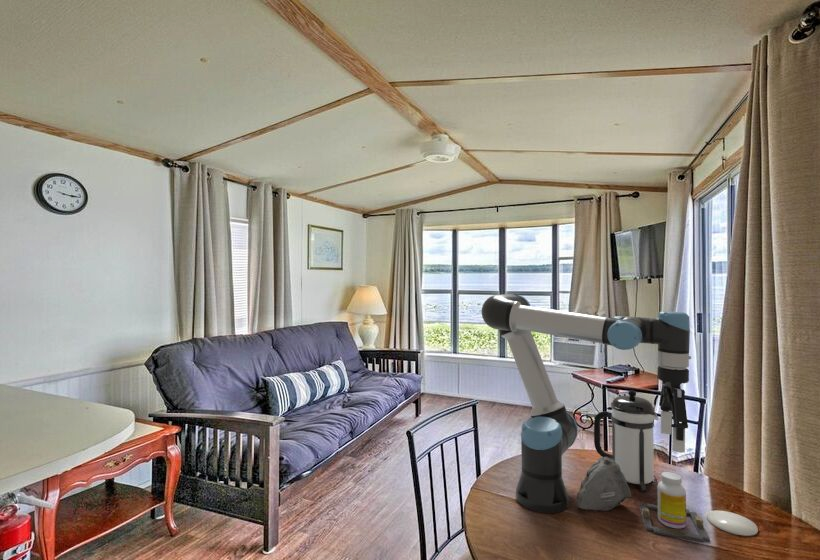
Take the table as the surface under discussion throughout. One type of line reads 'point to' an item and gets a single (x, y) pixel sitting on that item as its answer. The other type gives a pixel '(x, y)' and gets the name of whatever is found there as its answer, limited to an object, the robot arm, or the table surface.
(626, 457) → the coffee press
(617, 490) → the decorative rock
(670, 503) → the supplement bottle
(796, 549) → the table surface
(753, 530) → the coaster
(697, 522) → the grey square frame
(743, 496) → the table surface
